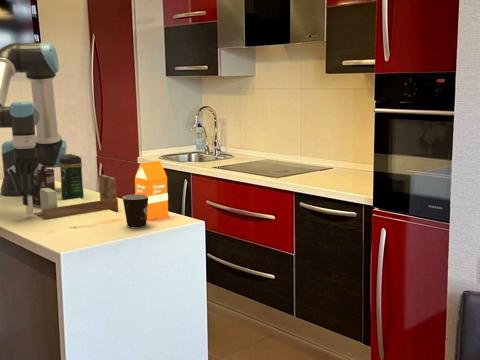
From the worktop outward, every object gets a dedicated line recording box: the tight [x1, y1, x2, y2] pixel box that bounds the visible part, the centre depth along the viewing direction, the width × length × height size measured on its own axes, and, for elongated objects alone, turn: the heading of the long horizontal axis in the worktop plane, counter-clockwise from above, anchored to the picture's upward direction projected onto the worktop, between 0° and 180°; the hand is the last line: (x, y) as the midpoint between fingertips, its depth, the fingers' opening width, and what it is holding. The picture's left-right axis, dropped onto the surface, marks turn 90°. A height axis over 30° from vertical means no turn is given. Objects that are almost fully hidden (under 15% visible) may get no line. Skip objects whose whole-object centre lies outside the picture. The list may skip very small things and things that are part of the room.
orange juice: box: [134, 160, 169, 221], centre depth 214 cm, size 8×9×20 cm
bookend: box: [40, 188, 58, 214], centre depth 213 cm, size 8×3×9 cm, turn 38°
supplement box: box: [33, 168, 56, 208], centre depth 226 cm, size 9×5×16 cm, turn 62°
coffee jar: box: [59, 153, 84, 201], centre depth 245 cm, size 10×8×19 cm
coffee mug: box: [122, 193, 148, 228], centre depth 202 cm, size 12×9×10 cm
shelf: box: [32, 174, 119, 221], centre depth 219 cm, size 12×28×12 cm, turn 128°
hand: (29, 213), depth 209 cm, fingers closed
